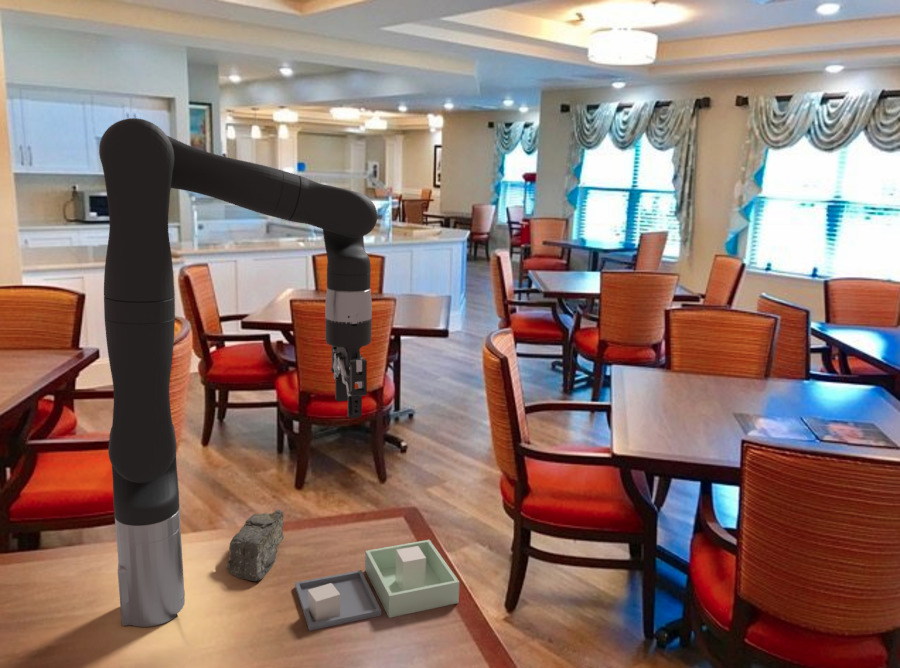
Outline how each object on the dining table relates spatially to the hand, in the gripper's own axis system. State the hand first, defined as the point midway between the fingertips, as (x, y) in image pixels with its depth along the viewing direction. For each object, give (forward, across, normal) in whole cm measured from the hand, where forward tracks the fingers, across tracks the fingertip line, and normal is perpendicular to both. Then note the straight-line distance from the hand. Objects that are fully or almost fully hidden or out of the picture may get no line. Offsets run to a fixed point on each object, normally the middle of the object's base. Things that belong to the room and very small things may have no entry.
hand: (348, 408), depth 120 cm
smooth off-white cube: (+30, +13, -7) cm, 33 cm away
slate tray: (+30, +10, -4) cm, 32 cm away
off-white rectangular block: (+30, +10, +8) cm, 32 cm away
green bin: (+30, +10, +8) cm, 33 cm away
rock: (+30, -8, -15) cm, 35 cm away
